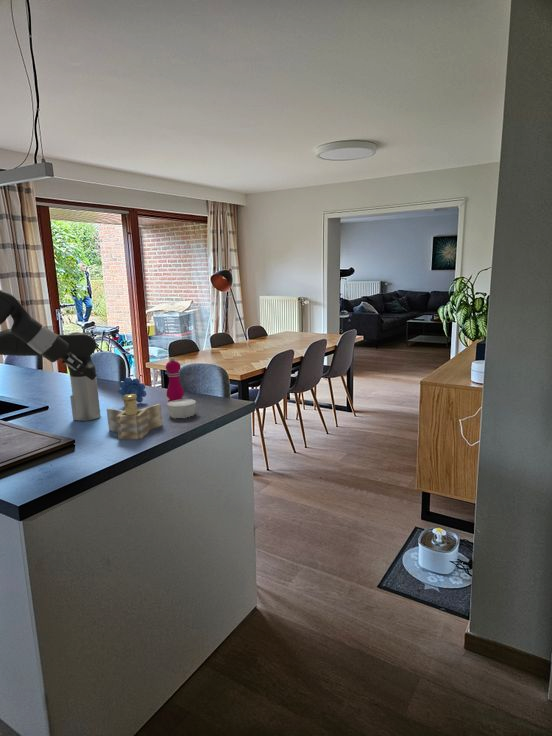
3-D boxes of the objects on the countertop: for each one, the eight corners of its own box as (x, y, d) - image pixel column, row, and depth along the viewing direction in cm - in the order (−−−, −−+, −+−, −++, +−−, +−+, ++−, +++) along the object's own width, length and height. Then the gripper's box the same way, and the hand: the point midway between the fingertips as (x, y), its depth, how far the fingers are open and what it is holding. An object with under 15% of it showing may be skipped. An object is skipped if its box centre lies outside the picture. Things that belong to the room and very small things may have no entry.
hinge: (97, 439, 160) (94, 416, 158) (114, 425, 174) (112, 404, 173) (149, 438, 158) (147, 415, 157) (162, 424, 173) (161, 403, 172)
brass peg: (125, 437, 161) (120, 397, 158) (129, 433, 165) (125, 394, 162) (137, 437, 160) (133, 397, 158) (142, 433, 165) (138, 393, 162)
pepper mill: (176, 406, 197) (172, 359, 193) (163, 405, 201) (159, 358, 197) (188, 402, 203) (184, 356, 199) (175, 400, 207) (172, 355, 203)
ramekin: (186, 409, 192) (185, 397, 191) (203, 414, 184) (202, 401, 183) (162, 416, 185) (161, 403, 184) (178, 421, 177) (177, 407, 176)
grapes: (122, 408, 197) (119, 380, 195) (118, 405, 203) (115, 377, 200) (150, 404, 203) (147, 376, 201) (145, 400, 209) (143, 373, 206)
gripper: (36, 350, 149) (79, 381, 157) (42, 356, 137) (88, 388, 146) (52, 332, 151) (94, 363, 159) (60, 336, 139) (104, 369, 147)
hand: (91, 375), depth 152 cm, fingers open, 8 cm apart
